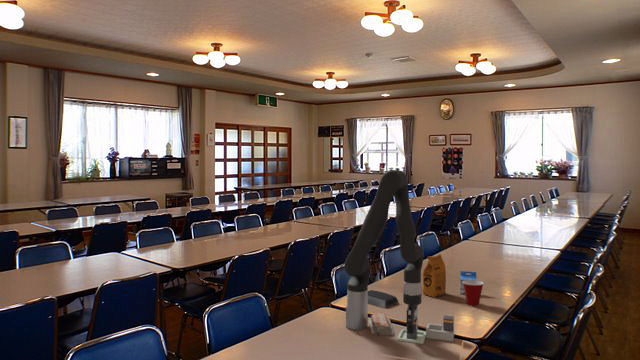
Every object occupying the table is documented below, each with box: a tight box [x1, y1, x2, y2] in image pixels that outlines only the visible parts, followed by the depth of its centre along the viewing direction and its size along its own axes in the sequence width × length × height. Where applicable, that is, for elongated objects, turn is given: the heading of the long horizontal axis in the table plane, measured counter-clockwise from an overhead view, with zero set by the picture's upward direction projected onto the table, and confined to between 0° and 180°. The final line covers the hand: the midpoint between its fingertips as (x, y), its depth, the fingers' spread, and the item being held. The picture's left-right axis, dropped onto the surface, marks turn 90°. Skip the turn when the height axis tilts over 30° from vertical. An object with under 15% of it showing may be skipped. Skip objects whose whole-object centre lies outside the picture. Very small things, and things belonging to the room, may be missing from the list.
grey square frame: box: [425, 314, 455, 342], centre depth 188 cm, size 11×8×9 cm
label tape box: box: [459, 270, 478, 295], centre depth 248 cm, size 9×4×12 cm, turn 73°
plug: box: [406, 317, 419, 340], centre depth 187 cm, size 4×4×8 cm
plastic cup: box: [462, 280, 485, 307], centre depth 230 cm, size 11×11×12 cm
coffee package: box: [421, 253, 447, 298], centre depth 248 cm, size 10×12×22 cm
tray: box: [396, 328, 426, 345], centre depth 187 cm, size 11×11×2 cm
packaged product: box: [368, 312, 395, 336], centre depth 199 cm, size 18×5×10 cm
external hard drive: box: [368, 289, 399, 309], centre depth 236 cm, size 13×19×4 cm
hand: (412, 329), depth 187 cm, fingers open, 8 cm apart
